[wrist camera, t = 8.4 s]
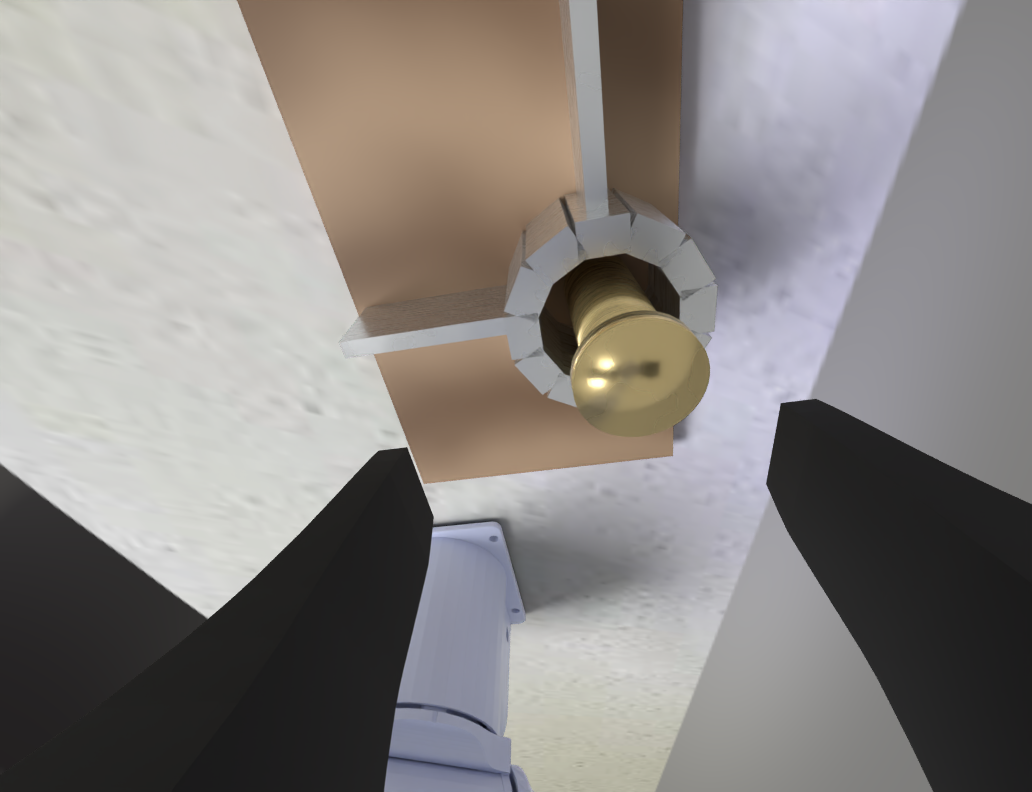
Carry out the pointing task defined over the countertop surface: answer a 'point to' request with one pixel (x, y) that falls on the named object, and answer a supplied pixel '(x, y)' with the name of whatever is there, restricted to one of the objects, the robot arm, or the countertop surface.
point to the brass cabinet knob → (629, 354)
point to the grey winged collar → (558, 252)
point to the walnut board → (467, 186)
